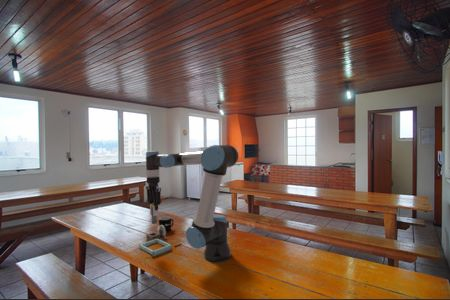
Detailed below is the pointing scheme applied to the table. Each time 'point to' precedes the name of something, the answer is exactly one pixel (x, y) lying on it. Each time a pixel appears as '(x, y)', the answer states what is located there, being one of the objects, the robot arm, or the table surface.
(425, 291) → the table surface
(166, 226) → the mug
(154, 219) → the pin
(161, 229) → the tensioner block
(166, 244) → the tray
